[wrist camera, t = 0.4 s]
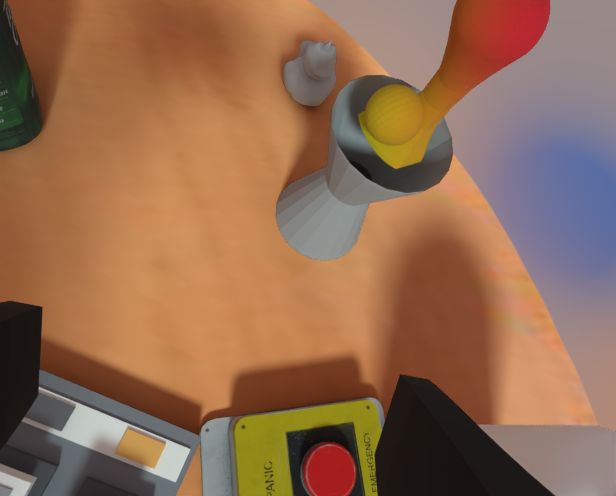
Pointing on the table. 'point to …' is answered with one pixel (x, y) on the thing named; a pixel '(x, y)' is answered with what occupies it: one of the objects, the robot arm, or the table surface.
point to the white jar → (562, 456)
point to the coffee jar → (15, 88)
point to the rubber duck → (311, 73)
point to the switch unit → (96, 445)
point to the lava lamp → (401, 128)
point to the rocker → (15, 482)
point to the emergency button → (294, 451)
